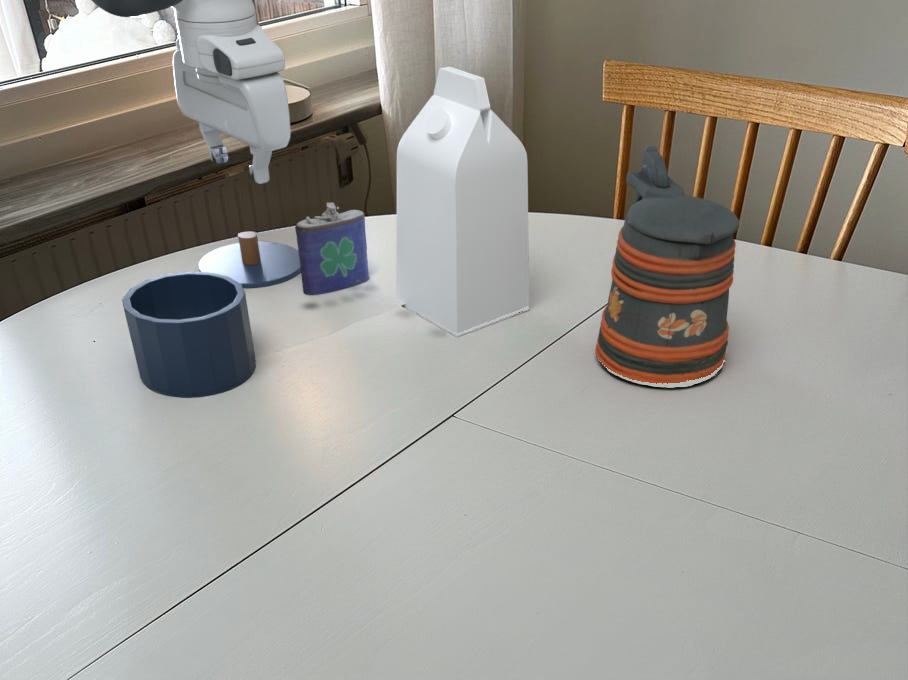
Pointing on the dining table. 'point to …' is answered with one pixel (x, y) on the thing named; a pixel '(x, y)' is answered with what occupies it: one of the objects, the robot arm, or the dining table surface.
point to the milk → (461, 209)
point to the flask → (332, 251)
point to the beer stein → (668, 282)
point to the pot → (190, 333)
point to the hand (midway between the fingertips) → (239, 171)
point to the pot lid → (253, 261)
